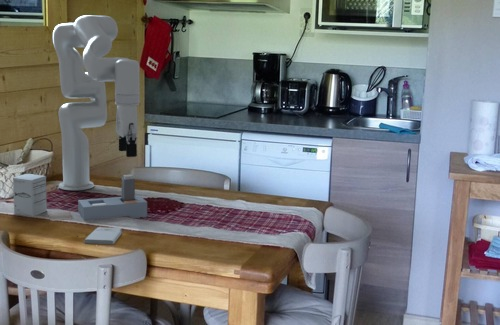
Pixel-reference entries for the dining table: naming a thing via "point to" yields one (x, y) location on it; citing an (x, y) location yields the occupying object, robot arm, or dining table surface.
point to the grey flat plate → (60, 216)
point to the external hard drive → (104, 235)
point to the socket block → (112, 208)
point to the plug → (128, 188)
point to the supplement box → (29, 194)
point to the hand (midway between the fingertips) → (127, 153)
